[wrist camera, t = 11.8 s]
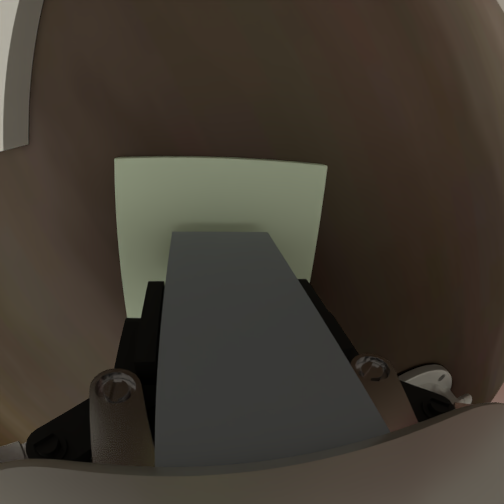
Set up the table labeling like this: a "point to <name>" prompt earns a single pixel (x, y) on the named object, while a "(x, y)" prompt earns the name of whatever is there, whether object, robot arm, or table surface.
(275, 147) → the table surface
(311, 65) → the table surface
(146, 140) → the table surface
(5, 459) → the robot arm
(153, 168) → the sage mat
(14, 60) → the white square hole board
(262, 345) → the slate plug
